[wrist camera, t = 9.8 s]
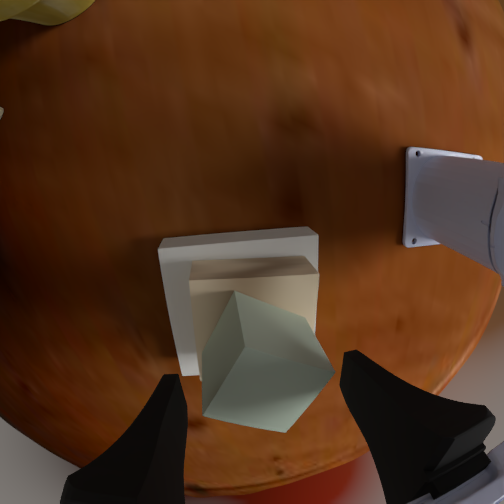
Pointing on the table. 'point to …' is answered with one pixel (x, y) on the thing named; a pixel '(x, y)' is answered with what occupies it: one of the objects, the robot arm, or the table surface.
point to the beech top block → (250, 289)
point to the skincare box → (1, 112)
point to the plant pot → (43, 10)
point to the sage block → (261, 366)
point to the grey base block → (216, 248)
